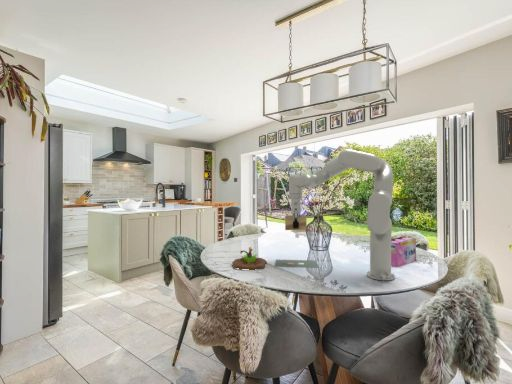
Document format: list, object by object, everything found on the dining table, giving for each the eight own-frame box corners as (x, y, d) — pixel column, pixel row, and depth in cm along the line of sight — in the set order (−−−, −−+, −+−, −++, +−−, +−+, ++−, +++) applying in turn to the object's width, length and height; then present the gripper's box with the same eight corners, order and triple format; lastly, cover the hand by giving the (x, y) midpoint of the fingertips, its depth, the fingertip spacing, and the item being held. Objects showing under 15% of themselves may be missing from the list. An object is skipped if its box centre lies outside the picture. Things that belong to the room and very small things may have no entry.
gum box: (404, 257, 171) (404, 236, 171) (417, 260, 164) (417, 237, 164) (383, 264, 157) (383, 240, 157) (397, 267, 151) (397, 242, 150)
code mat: (318, 268, 150) (318, 267, 150) (274, 266, 153) (274, 266, 153) (315, 260, 165) (315, 260, 165) (275, 259, 168) (275, 259, 168)
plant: (231, 271, 146) (231, 251, 146) (232, 261, 166) (232, 243, 165) (268, 270, 147) (268, 250, 147) (265, 261, 167) (265, 242, 167)
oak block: (306, 230, 155) (306, 216, 155) (285, 230, 157) (285, 216, 157) (306, 228, 160) (305, 215, 160) (285, 228, 162) (285, 215, 162)
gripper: (302, 196, 149) (303, 230, 149) (301, 195, 166) (301, 225, 166) (288, 196, 150) (289, 229, 150) (289, 196, 167) (289, 225, 167)
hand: (295, 227), depth 158 cm, fingers closed on oak block, 5 cm apart
